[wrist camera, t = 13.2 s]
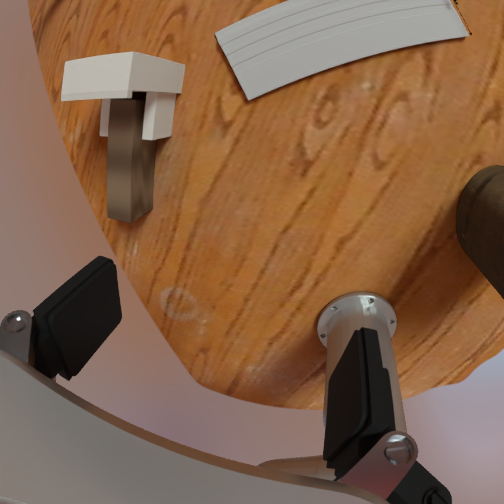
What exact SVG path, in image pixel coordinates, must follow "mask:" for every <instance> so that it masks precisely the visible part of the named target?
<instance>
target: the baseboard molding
mask: <svg viewBox="0 0 504 504" xmlns="http://www.w3.org/2000/svg"><path fill="white" fill-rule="evenodd" d="M454 1H455V2H454V3H456V0H454ZM456 4H458V3H456ZM456 4H455V5H456ZM456 7H457V6H456ZM458 10H459V9H458ZM459 12H460V11H459ZM460 14H461V13H460ZM461 16H462V15H461ZM462 18H463V17H462ZM463 20H464V19H463ZM468 30H469V29H468ZM469 32H470V31H469ZM215 35H216V37H217V39H218V42H219V44H220V46H221V48H222V49H223V51H224V53H225V55H226V57H227V59H228V61H229V63H230V65H231V67H232V68H233V70H234V72H235V75H236V77H237V78H238V80H239V82H240V84H241V86H242V88H243V90H244V92H245V94H246V96H247V98H248V100H252V99H254V98H256V97H258V96H261V95H263V94H265V93H267V92H270V91H272V90H274V89H277V88H279V87H282V86H284V85H287V84H289V83H292V82H294V81H297V80H299V79H302V78H304V77H307V76H310V75H313V74H315V73H318V72H321V71H324V70H327V69H330V68H333V67H336V66H339V65H342V64H345V63H348V62H351V61H355V60H358V59H361V58H365V57H368V56H372V55H376V54H379V53H383V52H387V51H391V50H395V49H400V48H404V47H409V46H413V45H418V44H423V43H429V42H434V41H440V40H447V39H454V38H461V37H468V36H469V35H468V33H467V31H466V29H465V27H464V25H463V23H462V21H461V19H460V17H459V15H458V14H457V12H456V10H455V9H454V7H453V5H452V3H451V1H450V0H289V1H286V2H283V3H280V4H278V5H275V6H273V7H270V8H268V9H265V10H263V11H260V12H258V13H256V14H253V15H251V16H249V17H247V18H244V19H242V20H240V21H238V22H236V23H234V24H232V25H230V26H228V27H226V28H224V29H222V30H220V31H218V32H216V33H215ZM470 35H472V33H470Z"/></svg>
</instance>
